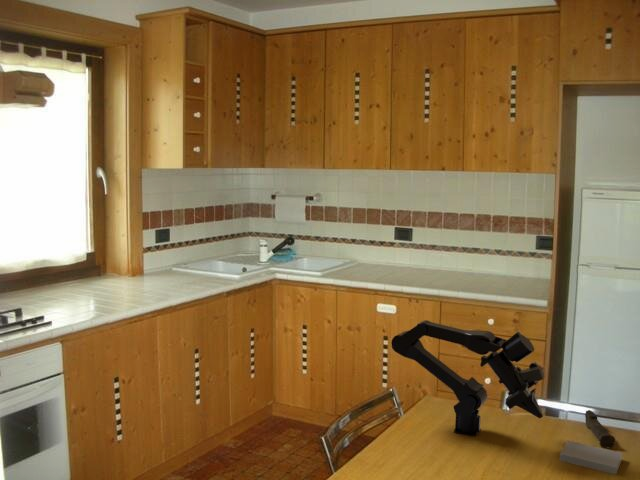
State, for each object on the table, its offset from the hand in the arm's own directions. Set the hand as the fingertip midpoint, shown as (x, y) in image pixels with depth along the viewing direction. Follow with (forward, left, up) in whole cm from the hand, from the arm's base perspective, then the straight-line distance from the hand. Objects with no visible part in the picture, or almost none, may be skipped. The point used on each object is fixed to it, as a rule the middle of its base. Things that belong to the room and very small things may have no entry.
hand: (541, 417), depth 186 cm
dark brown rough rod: (+14, +16, -9) cm, 24 cm away
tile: (+6, -1, -8) cm, 10 cm away
